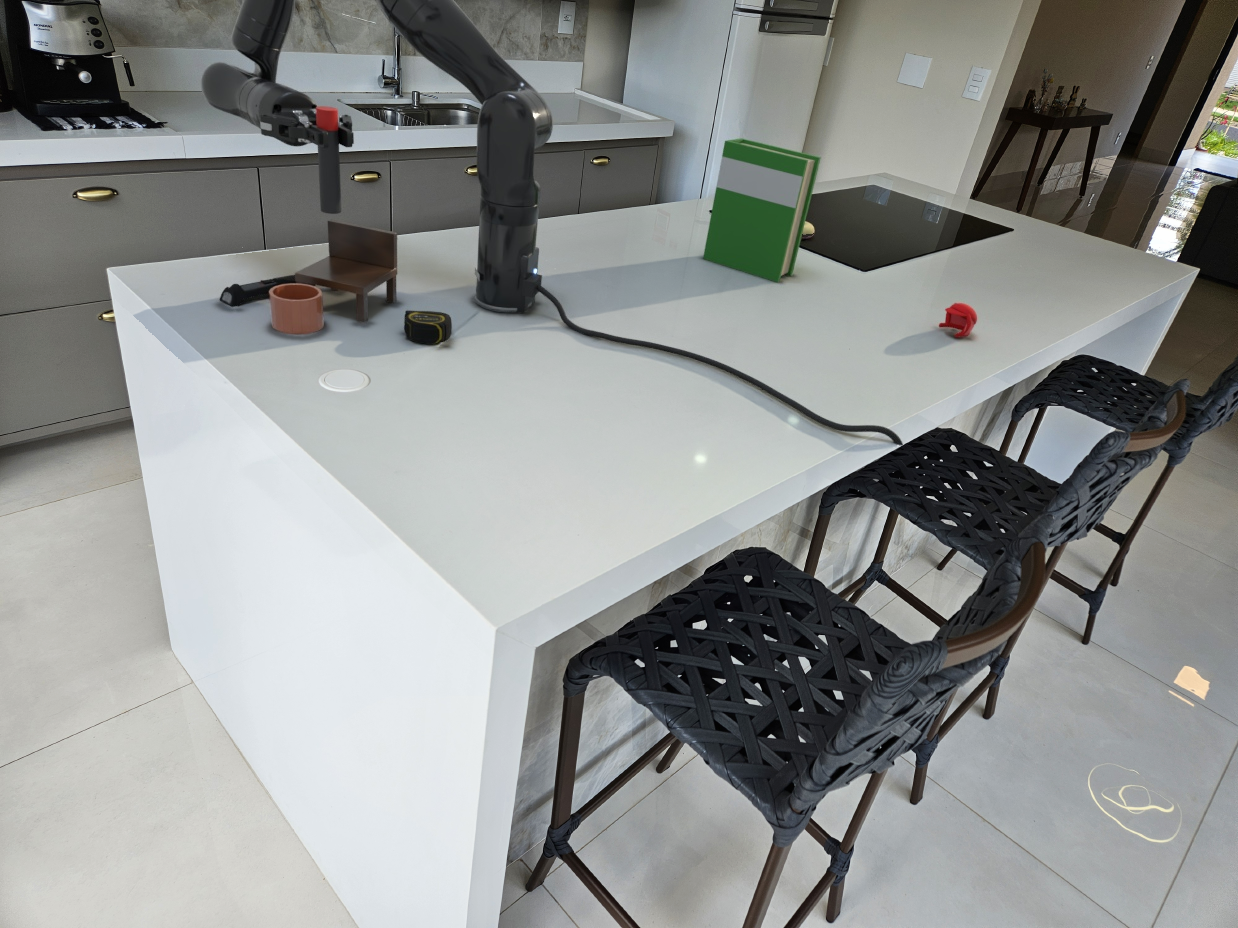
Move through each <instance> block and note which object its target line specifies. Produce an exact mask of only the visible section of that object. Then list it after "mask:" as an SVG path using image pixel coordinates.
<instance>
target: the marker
mask: <svg viewBox="0 0 1238 928" xmlns="http://www.w3.org/2000/svg"><path fill="white" fill-rule="evenodd" d="M338 120H339V110H338V108H336V107H332V106H323V105H321V106H317V107H316V123H317V126H318V127H320V128H322V129H324V130H326V131H327V132H328V142H329V146H328V148H322V147H320V146H318V145H317V161H318V182H319V202H320V203H319V204H320V205H319V206H320V212H322V213H324V214H328V215H338V214H341V213H342V191H341V190H342V189H341V186H342V185H341V162H340V144H339V131H338Z"/></svg>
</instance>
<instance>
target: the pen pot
mask: <svg viewBox="0 0 1238 928" xmlns="http://www.w3.org/2000/svg"><path fill="white" fill-rule="evenodd" d="M268 299H269V312H270V324H271V327H272V329H274V330H276V331H277V332H280V333H282V334H289V335H308V334H313V333H316V332H319V331H321V330H322V329H323V328H324V325H325V317H324V299H323V290H322V289H321V288H319V287H317V286H312V285H307V284H296V283H291V284H282V285H278V286H275V287H273V288H271V289H270V290H269V298H268Z"/></svg>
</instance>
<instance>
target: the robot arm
mask: <svg viewBox="0 0 1238 928" xmlns="http://www.w3.org/2000/svg"><path fill="white" fill-rule="evenodd" d="M374 1H375V4H376V5H377V7H378V8H379V10H380V11H381V13H382V14H383V15H384V17H385V18H386V19H387V21H388V22H389V23H390V24H391V26H392V27H393V28H395V30H396V31H397V32H398V33H399V35H401V37H402V38H403V39H404V40H405V41H406V42H407V44H408V45H409V46H411V47H412V48H413V49H414V50H415V51H416V52H417V53H418V54H419V55H420V56H422V57H423V58H424V59H426V60H427V61H428V62H430V63H431V64H433V65H434V66H435V67H437V68H438V69H440V70H442V71H443V72H445V73H446V74H448V75H449V76H451V77H452V78H453V79H455V80H456V81H457V82H459V83H460V84H461V85H463V86H464V88H466V89H467V90H469V92H470V93H471V94H472V95H473V97H475V99H476V100H477V101H478V103H480V105H481V107H480V109H479V113H478V117H477V118H478V119H477V125H476V129H477V130H476V175H477V180H478V182H479V185H480V197H479V198H480V200H479V218H478V219H479V220H478V221H479V222H478V240H477V241H478V243H477V263H476V267H474V275H475V277H476V282H475V283H476V286H475V295H474V301H475V303H476V304H477V305H478V306H479V307H481V308H483V309H486V310H490V311H493V312H498V313H519V314H525V313H526V312H527V311H528V310H529V309H530V308H531V307H532V306H533V305H534V304H535V302H536V296H537V294H538V293H540V294H542V295H543V296H544V297H545V298H546V299H548V300H549V301H550V302H551V304H552V305H554V307H555V308H556V310H557V312H558V315H559V317H560V319H561V321H562V323H564V324H565V326H567V327H568V328H569V329H571V330H572V331H575V332H577V333H579V334H582V335H584V336H589V337H594V338H597V339H603V340H606V341H610V342H613V343H614V342H615V343H619V344H623V345H624V344H625V345H630V346H636V347H640V348H641V347H642V348H647V349H652V350H655V351H656V350H657V351H661V352H665V353H670V354H673V355H677V356H681V357H685V358H688V359H690V360H694V361H697V362H701V363H704V364H706V365H709V366H712V367H715V368H717V369H718V370H719V369H720V370H722V371H724V372H727V373H729V374H730V375H733V376H735V377H737V378H739V379H741V380H743V381H745V382H747V383H749V384H751V385H754V386H755V387H757V388H758V389H760V390H762V391H764V392H765V393H767V394H769V395H771V396H772V397H774V398H776V399H778V400H779V401H781V402H783V403H784V404H786V405H788V406H790V407H791V408H793V409H795V410H797V411H798V412H799V413H801V414H803V415H804V416H806V417H807V418H809V419H811V420H813V421H814V422H816V423H818V424H820V425H822V426H824V427H827V428H830V429H833V430H836V431H839V432H845V433H879V434H882V435H885V436H886V437H888V438H889V439H890V440H892V441H893V443H894V444H895V445H898V446H903V445H904V443H903V441H902V439H901V437H899V435H898V433H896V432H895V431H893V430H892V429H890V428H888V427H885V426H883V425H882V426H881V425H874V424H864V425H863V424H861V425H857V424H856V425H855V424H854V425H851V424H843V423H838V422H835V421H832V420H830V419H827V418H825V417H823V416H821V415H819V414H817V413H815V412H813V411H812V410H811V409H809V408H807V407H806V406H804V405H803V404H801V403H799V402H797V401H796V400H794V399H793V398H790V397H788V396H787V395H786V394H783V393H782V392H780V391H778V390H776V389H774V388H773V387H772V386H770V385H768V384H766V383H764V382H762V381H761V380H758V379H757V378H755V377H753V376H750V375H749V374H747V373H744V372H743V371H740V370H739V369H736V368H734V367H731V366H730V365H727V364H725V363H723V362H720V361H718V360H715V359H712V358H709V357H707V356H703V355H701V354H698V353H694V352H692V351H689V350H685V349H680V348H678V347H677V348H676V347H673V346H668V345H664V344H661V343H656V342H651V341H646V340H640V339H634V338H628V337H623V336H617V335H614V334H609V333H605V332H601V331H597V330H592V329H587V328H583V327H581V326H579V325H578V324H576V323H574V322H573V321H571V320H570V319H569V318H568V316H567V315H566V312H565V309H564V307H563V305H562V303H561V302H560V301H559V300H558V298H556V296H555V295H554V294H552V293H551V292H550V291H549V290H547V289H546V288H545V287H543V286H542V279H543V275H542V274H538V270H539V269H538V268H539V257H540V248H539V247H538V246H537V236H538V235H537V234H538V224H539V211H540V199H541V186H540V183H539V182H538V181H537V180H536V179H535V175H534V173H535V172H534V171H535V170H534V169H535V167H534V165H535V150H538V149H540V148H541V147H543V146H544V145H546V143H548V141H549V140H550V138H551V136H552V133H553V129H554V120H553V115H552V111H551V108H550V106H549V104H548V102H547V101H546V99H545V98H544V97H543V96H542V94H541V93H539V91H538V90H536V88H535V87H533V86H532V85H531V84H530V83H529V82H528V81H527V80H526V79H525V78H524V77H523V76H522V75H521V74H520V73H519V72H517V71H516V69H514V68H513V67H512V66H511V65H510V64H509V63H508V62H507V61H506V60H505V59H504V58H503V57H502V56H501V55H500V54H499V52H497V51H496V49H495V48H494V47H493V45H492V44H491V43H490V42H489V41H488V39H487V38H486V37H485V36H484V35H483V33H482V32H481V31H480V29H479V28H478V27H477V26H476V25H475V23H474V22H473V21H472V19H470V18H469V16H468V15H467V14H466V13H465V12H464V10H463V9H462V8H461V7H460V6H459V5H458V3H457V1H455V0H374ZM295 7H296V0H242V2H241V6H240V8H239V12H238V15H237V18H236V20H235V24H234V25H233V28H232V32H231V37H230V42H231V45H232V46H233V48H234V49H235V50H236V52H238V53H240V54H241V55H242V56H244V57H245V58H247V59H249V60H250V61H251V62H253V63H254V69H253V72H252V71H250V70H246V69H244V68H241V67H239V66H236V65H233V64H231V63H228V62H225V61H215V62H212V63H210V64H209V65H208V66H206V67H205V69H204V70H203V73H202V75H201V77H200V88H201V92H202V95H203V97H204V99H205V101H206V102H207V103H208V104H209V105H210V106H211V107H212V108H214V109H216V110H219V111H222V112H224V113H227V114H229V115H232V116H236V117H238V118H241V119H242V120H245V121H247V122H248V123H250V124H251V125H253V126H255V127H257V128H258V129H260V134H261V135H262V136H265V137H270V138H274V139H276V140H277V141H280V142H281V143H283V144H285V145H287V146H290V147H303V146H306V145H308V144H310V145H311V144H314V145H315V146H317V147H318V146H320V147H322V148H328V146H329V142H328V132H327V131H326V130H324V129H322V128H320V127H318V126H317V123H316V107H318V106H317V104H316V102H315V101H314V100H313V99H312V98H311V97H310V96H309V95H307V94H306V93H304V92H301V91H299V90H298V89H294V88H292V87H289V86H287V85H285V84H282V83H279V82H277V75H278V66H279V61H280V60H279V59H280V56H281V53H282V49H283V48H284V44H285V42H286V40H287V36H288V34H289V31H290V28H291V26H292V22H293V18H294V14H295ZM338 131H339V146H342V147H345V148H353V145H354V144H355V140H354V139H355V138H354V131H353V119H352V116H351V115H349V114H342V115H341V116H338Z"/></svg>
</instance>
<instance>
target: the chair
mask: <svg viewBox="0 0 1238 928" xmlns="http://www.w3.org/2000/svg"><path fill="white" fill-rule="evenodd" d="M327 240H328V241H327V242H328V256H326V257H324V258H322V259H319V260H317V261H316V262H314V263H312V264H310V265H308V266H305V267H304V268H302V269H300V270H298V271H296V272H294V275H295V281H296V284H307V285H308V283H309V284H313V285H316V286H318V287H323V288H328V289H330V290H332V291H337V292H338V291H343V292H345V293H352V294H355V299H356V301H355V302H356V321H357V322H360V323H366V322H367V321H368V320H369V311H368V310H369V307H368V293H370V292H371V291H373V290H375V289H376V288H378V287H380V286H381V285H383V284H384V283H385V286H386V291H385V292H386V293H385V294H386V295H385V296H386V297H385V298H386V302H388V303H395V302H397V276H398V232H397V231H391V230H387V229H382V228H377V227H373V226H372V227H371V226H366V225H361V224H357V223H352V222H347V221H342V220H338V219H333V218H331V219H329V220H327Z"/></svg>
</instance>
